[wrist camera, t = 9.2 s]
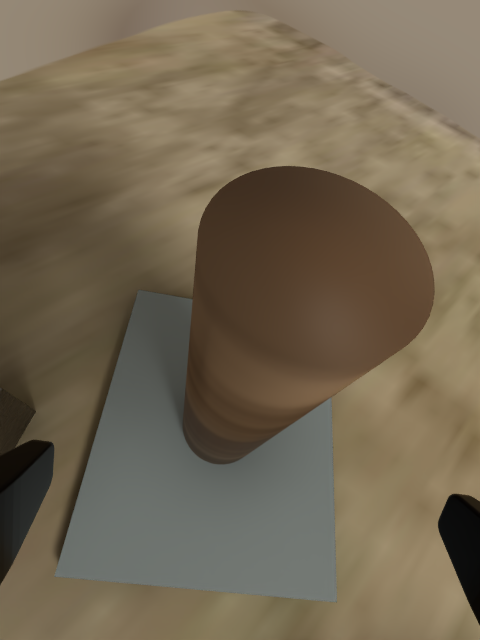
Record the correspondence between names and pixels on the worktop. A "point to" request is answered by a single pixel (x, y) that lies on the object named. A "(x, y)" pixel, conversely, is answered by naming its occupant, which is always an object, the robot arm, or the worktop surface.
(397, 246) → the dowel
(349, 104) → the worktop surface
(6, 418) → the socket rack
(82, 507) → the board
